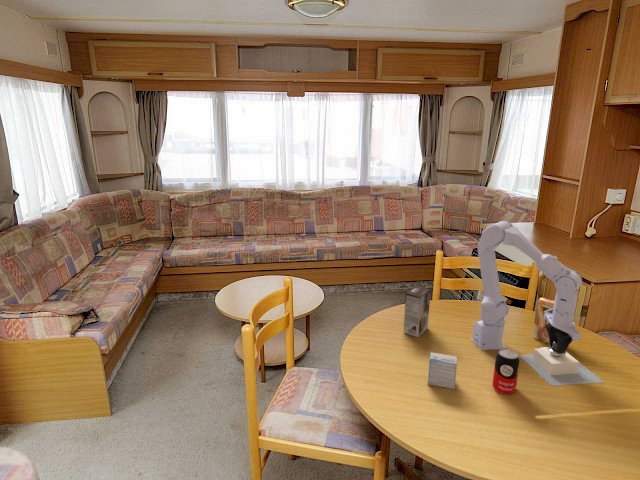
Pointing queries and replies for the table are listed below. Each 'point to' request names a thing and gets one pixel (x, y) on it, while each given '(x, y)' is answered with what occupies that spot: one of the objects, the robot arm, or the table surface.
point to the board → (564, 379)
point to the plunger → (555, 349)
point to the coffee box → (416, 311)
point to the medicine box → (442, 370)
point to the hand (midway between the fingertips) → (557, 349)
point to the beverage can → (506, 371)
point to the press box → (555, 362)
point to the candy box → (542, 319)
